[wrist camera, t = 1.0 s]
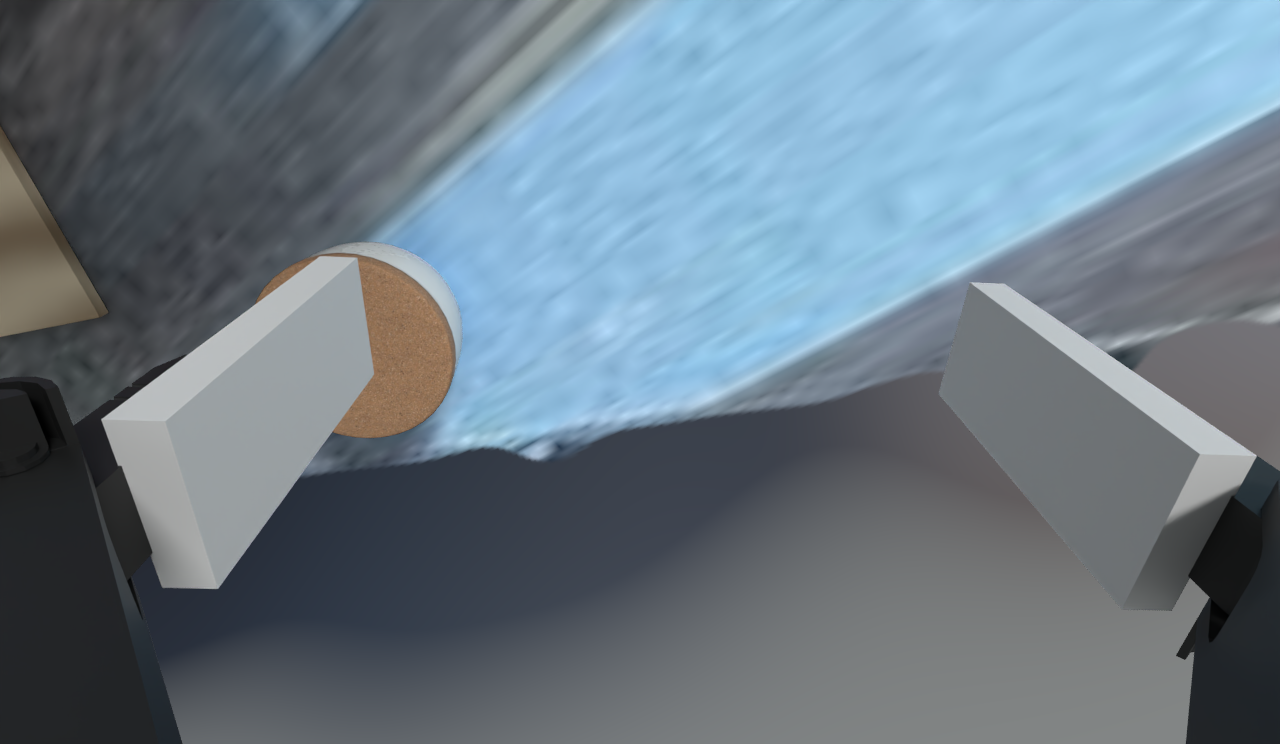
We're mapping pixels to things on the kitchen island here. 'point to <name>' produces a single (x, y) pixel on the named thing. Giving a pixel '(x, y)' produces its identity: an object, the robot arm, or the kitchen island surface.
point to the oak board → (36, 259)
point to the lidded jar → (397, 337)
